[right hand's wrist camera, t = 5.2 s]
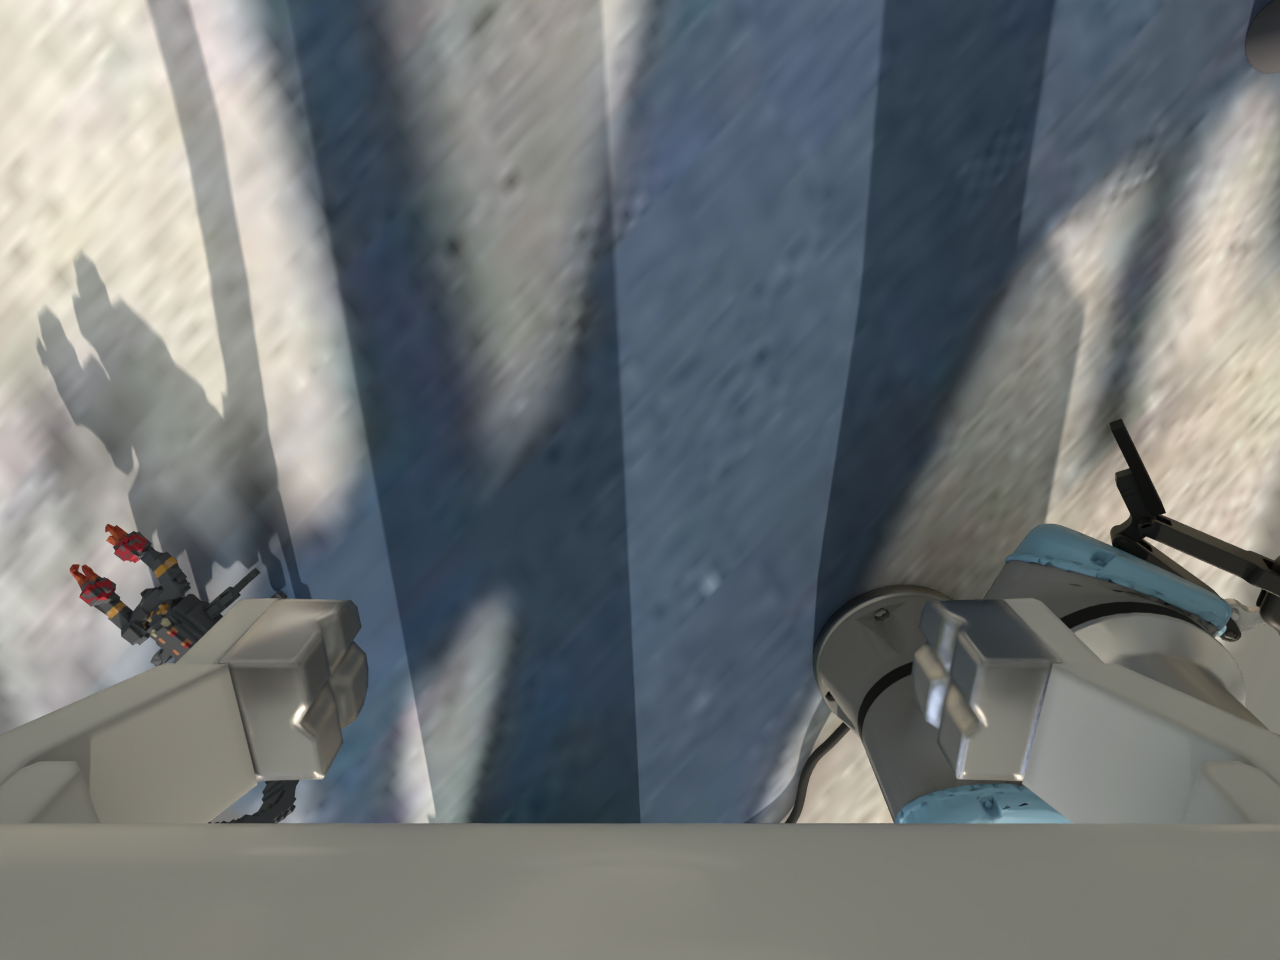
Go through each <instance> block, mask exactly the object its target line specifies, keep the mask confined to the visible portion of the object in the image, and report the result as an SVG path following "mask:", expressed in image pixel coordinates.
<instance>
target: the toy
mask: <svg viewBox="0 0 1280 960" xmlns="http://www.w3.org/2000/svg"><path fill="white" fill-rule="evenodd" d="M108 531H109V532H110V533H111V534H112V536H109V537H108V539H107V540H106V541H108V542H109V543H111V544H112V545H114V547H113V548H114V549H115V553H114V554H115V555H116V556H118V557H119V558H120V559H121V560H123V561H126V560H128V561H130V562H131V561H133V562H134V563H136V562H137V561H139V560H140V559H141V560H142V561H143V562H144V563H145V564H147V565H148V566H149V567H150V568H151V569H152V571H153V573H154V574H155V576H156V577H157V578H158V580H159V581H160V583H161V586H159V587H155V588H151V589H145V590H144V591H143V592H142V593H140V594H141V596H142V600H141V602H140V604H139V605H138V606H137V607H136V609H135V610H134V611H132V610H131V609H130V608H129V607H128V606H126V605H125V604H124V603H123V602H122V601H121V600H120V597H119V596H118V595H117V594H116V593H115V592H114V591H115V590H116V584H115V583H113V582H112V581H110V580H109V579H107V578H105V577H104V578H101V577H100V576H98V575H97V574H95V573H94V572H93V570H92V569H91V568H90V567H88V566H87V565H83V566H82V571H83V572H84V574H85V575H86V576H84V575H83V574H82V573H80V572H78V569H79V565H72V566H71V568H70V573H71V574H72V575H73V576H74V577H75V579H76V580H77V581H78V584H79V586H80V588H81V590H82V593H81V594H80V598H81V599H82V600H84V601H85V602H86V603H87V604H89V605H90V606H94V607H96V608H97V609H98V610H100V611H101V612H103V613H104V614H106V615H107V616H109V618H108V619H109V620H110V621H112V622H113V623H114V624H115V625H116V626H117V627H119V628H120V629H121V637H123V638H124V639H126V640H127V641H128V642H129V643H131V644H132V645H134V644H136V643H138V644H139V645H141V644H142V643H143V642H144V641H145V640H147V639H148V638H149V637H151V638H153V639H154V640H155V641H156V643H157V645H158V646H160V647H161V649H160V650H159V651H158V652H157V653H156V654H155V655H154V656H153V658H152V660H151V662H150V663H152V664H154V665H155V666H159V665H162V664H165V663H166V662H167V661H168V660H169V659H171V658H172V657H173V658H175V661H174V663H176V662H177V661H178V660H179V659H180V658H181V657H182V656H183V655H184V654H185V653H187V652H188V651H189V650H190V649H191V648H192V647H193V646H194V645H195V644H196V643H197V642H198V641H199V640H200V639H201V638H202V637H203V636H204V635H205V634H206V633H207V632H208V631H209V630H210V629H211V628H212V627H213V626H214V625H215V624H216V623H217V622H218V621H219V620H220V619H221V618H222V617H223V616H222V615H221V614H220V613H221V612H222V611H223V610H224V609H226V608H227V607H228V606H229V605H230V604H231V603H232V602H234V601H235V600H236V599H237V598H238V597H239V596H240V594H239V592H240V591H241V590H242V589H243V588H244V587H245V586H246V585H247V584H248V583H249V582H250V581H251V580H253V579H254V578H255V577H256V576H257V575H258V574H259V573H260V572H259V571H258V570H257V569H256V568H255V569H254V570H252V571H251V572H250V573H249V574H248V575H246V576H245V577H244V578H243V579H242V580H241V581H240V582H239V583H238V584H237V585H236V586H234V587H229V588H227V589H226V590H225V591H224V592H223V593H222V594H220V595H219V596H218V597H217V598H216V599H215V600H213V601H212V602H211V603H210V604H208V603H207V602H202V601H200V600H199V599H198V598H197V597H196V596H195V595H194V594H189V595H187V596H186V597H185V598H182V597H181V596H182V595H183V594H184V593H185V592H187V591H188V590H189V589H190V588H191V587H190V586H189V584H190V583H189V582H187V580H186V577H187V576H186V575H185V574H184V573H183V572H182V571H181V569H180V568H179V566H178V564H177V560H176V559H174V558H173V557H172V556H171V555H170V554H169V553H167V552H165V553H160V552H157V551H156V550H154V549H153V548H152V547H151V546H150V545H151V543H150V542H149V541H148V540H147V539H146V538H145V537H144V536H143V535H142V534H141V533H140V532H134V531H133V532H131V533H130V534H128V533H126V532H125V531H124V530H122V529H121V528H120V527H118V526H117V525H116V526H115V527H114V526H112V525H109V524H107V526H106V527H105V532H108ZM271 598H279V599H286V598H287V596H286V595H285V594H284V593H283V592H282V591H281V590H280V591H279V592H277V593H276V594H275V595H274V596H272V597H271ZM298 782H299V780H273V781H265V783H266V784H267V785H266V787H265V789H264V790H263V794H264V796H263V798H262V801H263V802H264V803H263V804H262V806H261V808H260V809H259V811H258V812H256V813H254V814H253V815H252V816H251V815H244V816H243V817H241V818H240V819H239V818H238V819H237V820H236V821H235V820H234V819H233V820H232V821H230V822H225V821H223V822H221V823H278V822H280V821H281V820H283V819H285V817H286V816H288V815H289V814H290V813H292V812H293V810H294V809H295V807H296V806H295V805H293V803H294V802H295V800H296V798H295V789H296V785H297V784H298ZM208 823H211V822H208ZM216 823H219V822H216Z"/></svg>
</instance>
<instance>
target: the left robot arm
mask: <svg viewBox="0 0 1280 960" xmlns="http://www.w3.org/2000/svg"><path fill="white" fill-rule="evenodd" d="M1110 427H1111V430H1112V433H1113V435H1114V437H1115V439H1116V441H1117V443H1118V445H1119V447H1120V449H1121V451H1122V453H1123V455H1124V457H1125V459H1126V462H1127V464H1128V466H1129V469H1126V470H1122V471H1119V472H1116V473H1115V481H1116V485H1117V487H1118V489H1119V491H1120V493H1121V496H1122V498H1123V500H1124V502H1125V504H1126V506H1127V508H1128V510H1129V512H1130V517H1129V518H1128V520H1126V521H1125V522H1124V523H1122V524H1121V525H1116V526H1114V527H1113V528H1112V529H1111V531H1110V535H1111V540H1112V545H1113V546H1111V545H1108V544H1106V543H1104V542H1101V541H1099V540H1097V539H1094V538H1092V537H1089V536H1087V535H1085V534H1082V533H1080V532H1077V531H1075V530H1072V529H1069V528H1067V527H1064V526H1061V525H1057V524H1044V525H1040V526H1037V527H1035V528H1034V529H1033V530H1031V531H1030V532H1029V533H1028V535H1027V536H1026V537H1025V539H1024V540H1023V541H1022V543H1021V544H1020V545H1019V547H1018V548H1017V549H1016V551H1015V552H1014V553H1013V554H1011V555H1009V556H1008V557H1007V558H1006V560H1005V565H1004V567H1003V569H1002V570H1001V572H1000V573H999V575H998V576H997V578H996V580H995V581H994V583H993V584H992V586H991V587H990V589H989V591H988V592H987V594H986V595H985V597H984V599H983V600H988V599H1020V598H1034V599H1036V600H1039V601H1042V602H1043V603H1044V604H1045V605H1046V606H1047V607H1048V608H1049V609H1050V610H1051V611H1052V612H1053V613H1054V614H1055V615H1056V616H1057V617H1058V618H1059V619H1060V620H1061V621H1062V622H1063V623H1064V624H1065V625H1066V626H1067V627H1068V628H1069V629H1070V630H1071V631H1072V632H1073V633H1074V634H1075V635H1076V636H1077V637H1078V638H1079V639H1080V640H1081V641H1082V642H1083V643H1084V644H1085V645H1086V646H1087V647H1088V648H1090V649H1091V650H1092V651H1093V652H1094V653H1095V654H1096V655H1097V656H1098V657H1099V658H1100V659H1101V660H1102V661H1103V662H1104V663H1105V664H1118V665H1121V666H1123V667H1125V668H1128V669H1130V670H1132V671H1135V672H1137V673H1139V674H1141V675H1144V676H1146V677H1148V678H1151V679H1153V680H1155V681H1157V682H1160V683H1162V684H1164V685H1167V686H1169V687H1171V688H1173V689H1176V690H1178V691H1180V692H1183V693H1185V694H1187V695H1189V696H1192V697H1194V698H1196V699H1199V700H1201V701H1203V702H1205V703H1208V704H1210V705H1212V706H1215V707H1217V708H1219V709H1221V710H1224V711H1226V712H1228V713H1231V714H1233V715H1235V716H1237V717H1240V718H1242V719H1244V720H1247V721H1249V722H1251V723H1253V724H1256V725H1258V726H1260V727H1263V728H1265V729H1267V730H1269V729H1268V728H1267V727H1266V726H1265V725H1264V724H1263V723H1261V722H1260V721H1259V720H1258V719H1257V718H1256V717H1255V716H1254V715H1253V714H1252V713H1251V712H1250V711H1249V710H1248V709H1247V708H1246V707H1245V701H1246V694H1245V684H1244V680H1243V677H1242V673H1241V671H1240V669H1239V667H1238V665H1237V663H1236V661H1235V660H1234V658H1233V657H1232V656H1231V654H1230V653H1229V652H1228V651H1227V650H1226V649H1225V648H1224V646H1223V645H1222V644H1221V643H1220V642H1219V641H1217V640H1216V639H1215V637H1216V636H1219V637H1220V638H1221V639H1222V640H1225V641H1228V642H1234V641H1237V640H1239V638H1240V637H1241V631H1245V630H1248V629H1251V628H1255V627H1258V626H1262V625H1265V624H1268V625H1270V626H1271V627H1273V628H1274V629H1275V630H1276V631H1277V632H1278V633H1279V635H1280V556H1279V557H1277V558H1276V560H1275V561H1274V560H1271V559H1269V558H1267V557H1264V556H1262V555H1260V554H1257V553H1255V552H1252V551H1246V550H1243V549H1241V548H1239V547H1236V546H1234V545H1232V544H1229V543H1227V542H1225V541H1222V540H1220V539H1217V538H1215V537H1213V536H1210V535H1208V534H1206V533H1203V532H1201V531H1199V530H1196V529H1194V528H1192V527H1189V526H1187V525H1184V524H1182V523H1180V522H1177V521H1175V520H1173V519H1170V518H1168V517H1166V516H1163V515H1161V514H1164V513H1166V512H1165V509H1164V507H1163V504H1162V502H1161V500H1160V498H1159V495H1158V493H1157V491H1156V489H1155V487H1154V485H1153V483H1152V481H1151V479H1150V477H1149V475H1148V473H1147V471H1146V468H1145V466H1144V464H1143V462H1142V460H1141V458H1140V456H1139V454H1138V452H1137V450H1136V448H1135V446H1134V444H1133V442H1132V439H1131V437H1130V435H1129V433H1128V431H1127V429H1126V427H1125V425H1124V423H1123V421H1122V419H1119V420H1116V421H1113V422H1111V423H1110ZM1146 536H1147V537H1149V538H1151V539H1154V540H1156V541H1158V542H1161V543H1163V544H1165V545H1167V546H1170V547H1172V548H1174V549H1177V550H1179V551H1181V552H1183V553H1186V554H1188V555H1190V556H1193V557H1195V558H1197V559H1199V560H1202V561H1204V562H1206V563H1209V564H1211V565H1213V566H1215V567H1218V568H1220V569H1222V570H1225V571H1227V572H1229V573H1231V574H1234V575H1236V576H1238V577H1241V578H1243V579H1244V580H1246V581H1247V582H1248V583H1250V584H1252V585H1254V586H1256V587H1258V588H1261V589H1262V590H1261V592H1260V594H1259V597H1258V599H1257V602H1256V606H1253V607H1248V606H1244V605H1242V604H1241V603H1240V602H1238V601H1237V600H1235V599H1222V598H1221V597H1220V596H1219V595H1218V594H1217V593H1216V592H1215V591H1214V590H1213V589H1212V588H1210V587H1209V586H1208V585H1206V584H1205V583H1204V582H1202V581H1201V580H1199V579H1198V578H1197V577H1195V576H1194V575H1193V574H1191V573H1190V572H1188V571H1187V570H1186V569H1184V568H1183V567H1181V566H1180V565H1179V564H1177V563H1176V562H1175V561H1173V560H1172V559H1170V558H1169V557H1168V556H1166V555H1165V554H1163V553H1162V552H1161V551H1159V550H1158V549H1157V548H1155V547H1154V546H1152V545H1151V544H1150V543H1148V542H1147V541H1145V540H1144V539H1143V538H1145V537H1146ZM948 600H951V599H950V598H949V597H947V596H945V595H943V594H942V593H939V592H937V591H935V590H931V589H928V588H924V587H919V586H909V585H900V586H890V587H884V588H880V589H876V590H873V591H870V592H868V593H865V594H863V595H861V596H859V597H857V598H855V599H853V600H851V601H850V602H848V603H847V604H845V605H844V606H843V607H841V608H840V609H839V610H838V611H837V612H836V613H835V614H834V615H833V616H832V617H831V618H830V619H829V620H828V622H827V623H826V624H825V626H824V627H823V629H822V631H821V632H820V634H819V636H818V639H817V641H816V644H815V648H814V653H813V671H814V676H815V679H816V682H817V684H818V687H819V690H820V693H821V695H822V697H823V699H824V701H825V702H826V704H827V705H828V706H829V708H830V709H831V710H832V711H833V712H834V713H835V714H836V715H837V716H838V717H839V718H840V719H841V720H842V721H843V723H842V724H841V725H840V726H839V727H838V728H837V729H836V730H835V731H834V732H833V733H832V735H831V736H830V737H829V738H828V739H827V740H826V741H825V742H824V743H822V744H821V745H820V746H819V747H818V748H817V749H816V750H815V751H814V752H813V753H812V754H811V756H810V757H809V759H808V760H807V762H806V764H805V766H804V768H803V771H802V774H801V777H800V781H799V786H798V792H797V797H796V801H795V804H794V807H793V810H792V812H791V814H790V816H789V817H788V819H787V821H786V822H785V823H796V822H797V820H798V818H799V816H800V814H801V811H802V808H803V805H804V801H805V796H806V790H807V786H808V782H809V778H810V776H811V773H812V771H813V769H814V767H815V765H816V764H817V762H818V761H819V760H820V759H821V758H822V757H823V756H824V755H825V754H826V753H827V752H828V751H829V750H830V749H832V748H833V747H834V746H835V745H836V744H837V743H838V742H839V740H840V739H841V738H842V737H843V736H844V735H845V734H846V733H847V732H848V731H849V730H850V729H851V730H852V731H853V732H854V733H855V734H856V735H857V736H858V737H859V738H860V739H861V741H862V743H863V745H864V748H865V750H866V753H867V756H868V758H869V761H870V763H871V766H872V768H873V771H874V773H875V776H876V778H877V781H878V784H879V786H880V789H881V791H882V794H883V796H884V799H885V801H886V804H887V806H888V809H889V811H890V814H891V817H892V819H893V822H894V823H1072V822H1071V821H1069V820H1068V819H1067V818H1066V817H1064V816H1063V815H1062V814H1060V813H1059V812H1058V811H1057V810H1055V809H1054V808H1053V807H1051V806H1050V805H1049V804H1048V803H1046V802H1045V801H1044V800H1042V799H1041V798H1040V797H1039V796H1037V795H1036V794H1035V793H1033V792H1032V791H1031V790H1030V789H1028V788H1027V787H1026V786H1024V785H1023V784H1022V783H1023V781H1007V780H970V779H957V778H956V776H955V775H954V773H953V771H952V769H951V768H950V766H949V764H948V762H947V760H946V759H945V757H944V755H943V753H942V751H941V750H940V748H939V746H938V744H937V738H938V732H939V729H937V728H936V727H934V726H933V725H931V724H930V723H928V722H927V721H925V720H924V719H923V717H922V715H921V713H920V711H919V709H918V707H917V704H916V701H915V698H914V694H913V686H912V675H911V673H912V665H913V657H914V653H915V652H916V651H917V650H918V649H919V648H920V647H921V646H922V645H923V644H924V643H925V642H926V641H927V640H926V638H925V637H924V635H923V633H922V632H921V630H920V629H919V621H920V616H921V611H922V609H923V607H924V605H925V603H926V602H927V601H948Z"/></svg>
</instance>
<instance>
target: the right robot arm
mask: <svg viewBox="0 0 1280 960" xmlns="http://www.w3.org/2000/svg"><path fill="white" fill-rule="evenodd" d="M360 629H361V622H360V617H359V612H358V607H357V606H356V605H355V604H354V603H353V602H352V601H351V600H317V599H279V598H266V599H245V600H240V601H239V602H237V603H236V604H235V605H234V606H233V607H232V608H231V609H230V610H229V611H228V612H227V613H226V614H225V615H224V616H223V617H222V618H221V619H220V620H219V621H218V622H217V623H216V624H215V625H214V626H213V627H212V628H211V629H210V630H209V631H208V632H207V633H206V634H205V635H204V636H203V637H202V638H201V639H200V640H199V641H198V642H197V643H196V644H195V645H194V646H193V647H192V648H191V649H190V650H189V651H188V652H187V653H185V654H184V655H183V656H182V657H181V658H180V659H179V660H178V661H177V662H176V663H175V664H162V665H159V666H157V667H155V668H152V669H150V670H148V671H145V672H143V673H141V674H139V675H136V676H134V677H132V678H129V679H127V680H125V681H123V682H120V683H118V684H116V685H113V686H111V687H109V688H106V689H104V690H102V691H100V692H97V693H95V694H93V695H90V696H88V697H86V698H83V699H81V700H79V701H77V702H74V703H72V704H70V705H67V706H65V707H63V708H61V709H58V710H56V711H54V712H51V713H49V714H47V715H44V716H42V717H40V718H38V719H35V720H33V721H31V722H28V723H26V724H24V725H22V726H19V727H17V728H15V729H12V730H10V731H8V732H5V733H3V734H1V735H0V960H1280V735H1279V734H1276V733H1274V732H1272V731H1270V730H1267V729H1265V728H1263V727H1260V726H1258V725H1256V724H1253V723H1251V722H1249V721H1247V720H1244V719H1242V718H1240V717H1237V716H1235V715H1233V714H1231V713H1228V712H1226V711H1224V710H1221V709H1219V708H1217V707H1215V706H1212V705H1210V704H1208V703H1205V702H1203V701H1201V700H1199V699H1196V698H1194V697H1192V696H1189V695H1187V694H1185V693H1183V692H1180V691H1178V690H1176V689H1173V688H1171V687H1169V686H1167V685H1164V684H1162V683H1160V682H1157V681H1155V680H1153V679H1151V678H1148V677H1146V676H1144V675H1141V674H1139V673H1137V672H1135V671H1132V670H1130V669H1128V668H1125V667H1123V666H1121V665H1118V664H1105V663H1104V662H1103V661H1102V660H1101V659H1100V658H1099V657H1098V656H1097V655H1096V654H1095V653H1094V652H1093V651H1092V650H1091V649H1090V648H1088V647H1087V646H1086V645H1085V644H1084V643H1083V642H1082V641H1081V640H1080V639H1079V638H1078V637H1077V636H1076V635H1075V634H1074V633H1073V632H1072V631H1071V630H1070V629H1069V628H1068V627H1067V626H1066V625H1065V624H1064V623H1063V622H1062V621H1061V620H1060V619H1059V618H1058V617H1057V616H1056V615H1055V614H1054V613H1053V612H1052V611H1051V610H1050V609H1049V608H1048V607H1047V606H1046V605H1045V604H1044V603H1043V602H1042V601H1039V600H1036V599H1034V598H1020V599H988V600H948V601H927V602H926V603H925V605H924V607H923V609H922V611H921V616H920V621H919V629H920V630H921V632H922V633H923V635H924V637H925V638H926V640H927V641H926V642H925V643H924V644H923V645H922V646H921V647H920V648H919V649H918V650H917V651H916V652H915V653H914V657H913V665H912V673H911V675H912V686H913V694H914V698H915V701H916V704H917V707H918V709H919V711H920V713H921V715H922V717H923V719H924V720H925V721H927V722H928V723H930V724H931V725H933V726H934V727H936V728H937V729H939V732H938V738H937V744H938V746H939V748H940V750H941V751H942V753H943V755H944V757H945V759H946V760H947V762H948V764H949V766H950V768H951V769H952V771H953V773H954V775H955V776H956V778H957V779H970V780H1007V781H1023V783H1022V784H1023V785H1024V786H1026V787H1027V788H1028V789H1030V790H1031V791H1032V792H1033V793H1035V794H1036V795H1037V796H1039V797H1040V798H1041V799H1042V800H1044V801H1045V802H1046V803H1048V804H1049V805H1050V806H1051V807H1053V808H1054V809H1055V810H1057V811H1058V812H1059V813H1060V814H1062V815H1063V816H1064V817H1066V818H1067V819H1068V820H1069V821H1071V822H1072V823H208V822H210V821H211V820H212V819H213V818H215V817H216V816H217V815H219V814H220V813H221V812H222V811H224V810H225V809H226V808H228V807H229V806H230V805H231V804H233V803H234V802H235V801H237V800H238V799H239V798H240V797H242V796H243V795H244V794H246V793H247V792H248V791H249V790H251V789H252V788H253V787H255V786H256V785H257V781H273V780H308V779H323V778H324V777H325V775H326V773H327V771H328V769H329V768H330V766H331V764H332V762H333V760H334V759H335V757H336V755H337V753H338V751H339V750H340V748H341V746H342V744H343V738H342V732H341V729H343V728H344V727H346V726H347V725H349V724H350V723H352V722H353V721H355V720H356V719H357V717H358V715H359V713H360V711H361V709H362V707H363V705H364V701H365V696H366V692H367V688H368V663H367V657H366V653H365V652H364V651H363V650H362V649H361V648H360V647H359V646H358V645H357V644H356V643H355V642H354V641H353V640H354V638H355V637H356V635H357V633H358V632H359V630H360Z"/></svg>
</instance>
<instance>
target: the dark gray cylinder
mask: <svg viewBox="0 0 1280 960" xmlns="http://www.w3.org/2000/svg"><path fill="white" fill-rule="evenodd" d="M1245 51H1246V56H1247V59H1248V61H1249V63H1250V64H1251V66H1252V67H1254V68H1255V69H1256V70H1258V71H1260V72H1263V73H1277V72H1280V0H1274V1H1272V2H1271V3H1269V4H1268V5H1267V6H1266V7H1264V8H1263V9H1262V10H1261V11H1260V12H1259V14H1258V15H1257V16H1256V17H1255V19H1254V20H1253V22H1252V24H1251V26H1250V28H1249V30H1248V33H1247V37H1246V43H1245Z"/></svg>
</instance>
